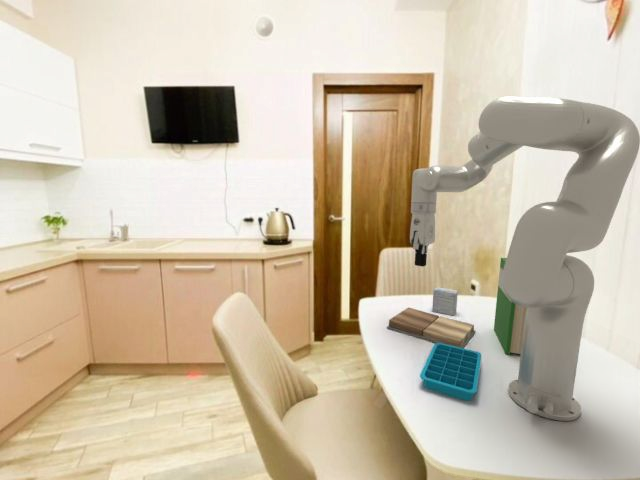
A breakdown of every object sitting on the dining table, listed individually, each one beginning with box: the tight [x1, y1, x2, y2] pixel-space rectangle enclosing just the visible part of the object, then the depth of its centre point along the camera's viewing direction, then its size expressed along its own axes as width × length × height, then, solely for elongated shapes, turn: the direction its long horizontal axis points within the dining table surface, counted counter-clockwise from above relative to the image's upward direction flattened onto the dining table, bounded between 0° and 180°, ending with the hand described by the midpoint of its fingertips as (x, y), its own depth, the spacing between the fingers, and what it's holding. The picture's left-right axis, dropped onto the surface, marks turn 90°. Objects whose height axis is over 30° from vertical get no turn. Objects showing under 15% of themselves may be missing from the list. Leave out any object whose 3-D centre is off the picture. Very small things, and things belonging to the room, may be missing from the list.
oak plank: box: [423, 316, 475, 348], centre depth 98 cm, size 15×11×2 cm
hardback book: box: [493, 257, 527, 357], centre depth 92 cm, size 18×7×24 cm, turn 161°
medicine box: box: [431, 287, 459, 316], centre depth 117 cm, size 8×4×9 cm, turn 58°
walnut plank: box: [388, 306, 440, 336], centre depth 105 cm, size 15×11×2 cm
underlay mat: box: [386, 325, 476, 349], centre depth 101 cm, size 16×23×1 cm
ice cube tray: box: [419, 343, 483, 402], centre depth 77 cm, size 12×20×3 cm, turn 150°
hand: (420, 265), depth 102 cm, fingers closed
